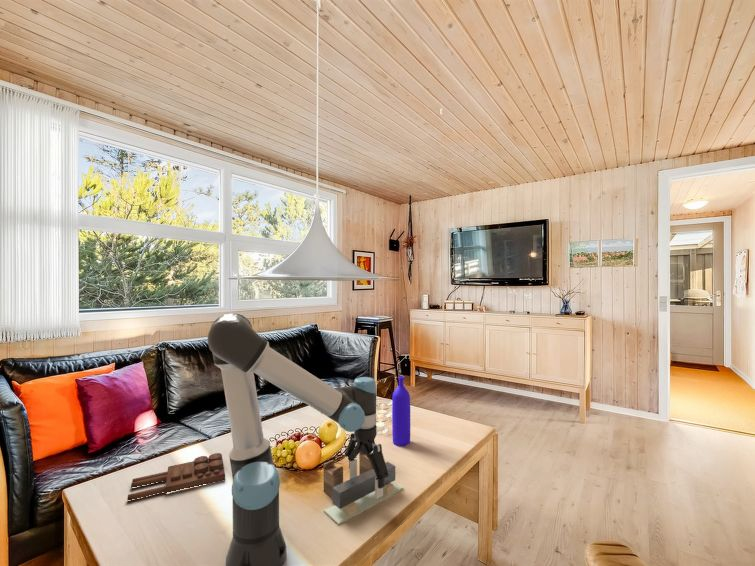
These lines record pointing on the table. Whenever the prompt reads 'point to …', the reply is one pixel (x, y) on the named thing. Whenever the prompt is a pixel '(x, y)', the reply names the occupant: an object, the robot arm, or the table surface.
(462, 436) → the table surface
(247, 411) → the robot arm
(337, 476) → the rack
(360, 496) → the rail
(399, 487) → the board
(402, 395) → the bottle
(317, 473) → the table surface
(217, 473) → the miniature factory model
